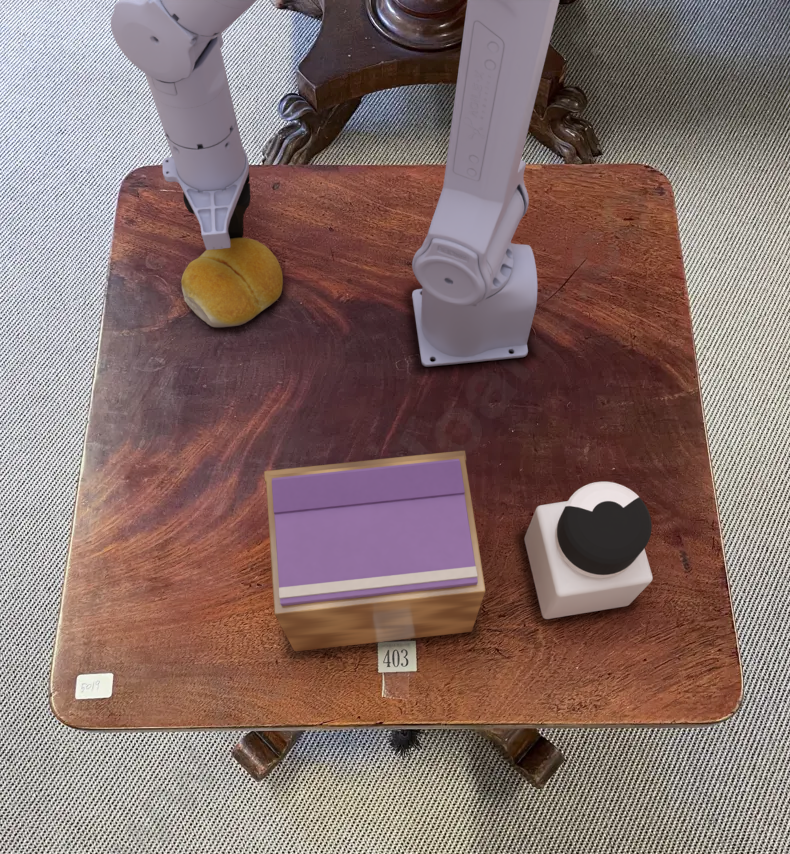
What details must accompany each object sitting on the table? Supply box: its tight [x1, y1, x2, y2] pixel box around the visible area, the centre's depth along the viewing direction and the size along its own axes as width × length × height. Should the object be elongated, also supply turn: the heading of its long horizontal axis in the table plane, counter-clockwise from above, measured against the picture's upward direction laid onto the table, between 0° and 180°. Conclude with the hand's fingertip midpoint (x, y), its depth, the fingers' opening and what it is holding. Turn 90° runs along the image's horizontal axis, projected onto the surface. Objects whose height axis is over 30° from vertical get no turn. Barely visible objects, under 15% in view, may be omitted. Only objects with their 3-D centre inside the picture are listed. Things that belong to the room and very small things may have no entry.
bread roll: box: [180, 237, 284, 328], centre depth 77 cm, size 8×9×4 cm
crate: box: [263, 450, 486, 652], centre depth 64 cm, size 14×10×12 cm
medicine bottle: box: [524, 481, 654, 620], centre depth 64 cm, size 7×7×12 cm
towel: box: [272, 459, 478, 606], centre depth 58 cm, size 13×9×1 cm
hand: (231, 236), depth 80 cm, fingers closed
